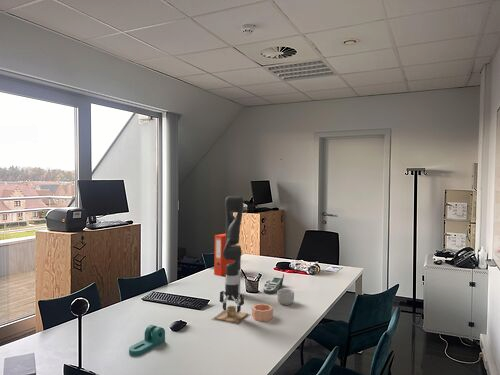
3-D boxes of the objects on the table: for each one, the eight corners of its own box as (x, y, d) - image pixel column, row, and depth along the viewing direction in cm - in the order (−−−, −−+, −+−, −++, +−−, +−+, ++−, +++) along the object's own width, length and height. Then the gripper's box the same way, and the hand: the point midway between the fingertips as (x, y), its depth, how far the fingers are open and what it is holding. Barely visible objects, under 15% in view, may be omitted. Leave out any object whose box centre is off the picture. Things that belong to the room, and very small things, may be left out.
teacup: (293, 307, 226) (293, 294, 226) (275, 305, 228) (275, 292, 228) (295, 299, 240) (295, 287, 240) (278, 298, 242) (278, 286, 242)
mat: (210, 320, 204) (210, 319, 204) (225, 310, 220) (225, 309, 220) (238, 325, 197) (238, 325, 197) (251, 314, 213) (251, 314, 213)
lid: (214, 319, 205) (214, 308, 205) (226, 310, 218) (226, 301, 217) (237, 323, 199) (237, 312, 199) (247, 314, 212) (247, 304, 212)
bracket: (154, 338, 181) (154, 322, 181) (165, 341, 178) (165, 325, 178) (125, 353, 166) (125, 336, 165) (136, 357, 162) (136, 339, 162)
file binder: (235, 272, 307) (235, 233, 306) (221, 276, 293) (221, 236, 292) (228, 270, 312) (228, 232, 310) (214, 274, 298) (214, 235, 297)
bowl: (249, 319, 206) (249, 309, 205) (257, 313, 216) (257, 303, 215) (267, 323, 201) (268, 312, 201) (274, 316, 211) (274, 305, 211)
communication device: (258, 293, 253) (258, 281, 253) (269, 283, 275) (269, 272, 275) (274, 295, 249) (274, 283, 248) (284, 285, 271) (284, 273, 270)
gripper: (217, 282, 207) (217, 311, 207) (240, 285, 201) (240, 315, 202) (223, 279, 214) (223, 307, 214) (246, 282, 208) (245, 310, 209)
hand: (231, 310), depth 208 cm, fingers open, 8 cm apart
